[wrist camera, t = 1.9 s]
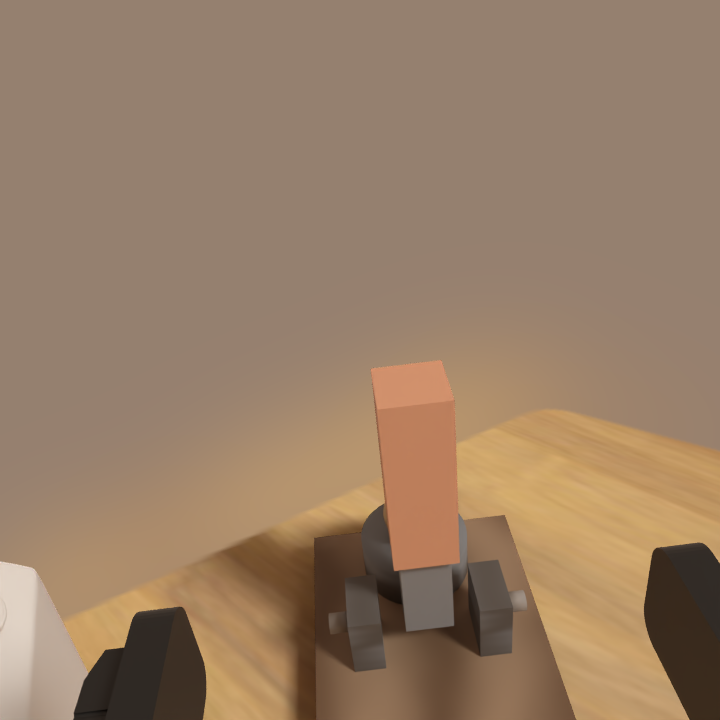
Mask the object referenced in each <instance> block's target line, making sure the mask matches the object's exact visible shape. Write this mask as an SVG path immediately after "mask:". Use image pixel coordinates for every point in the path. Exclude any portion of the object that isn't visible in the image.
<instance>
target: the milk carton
mask: <svg viewBox="0 0 720 720" xmlns="http://www.w3.org/2000/svg"><path fill="white" fill-rule="evenodd" d="M87 675H88V672H87V670H86V668H85V666H84V664H83V662H82V660H81V658H80V656H79V654H78V652H77V650H76V648H75V646H74V644H73V642H72V640H71V638H70V636H69V634H68V632H67V630H66V628H65V626H64V624H63V622H62V620H61V618H60V616H59V614H58V612H57V610H56V608H55V606H54V604H53V602H52V600H51V598H50V596H49V594H48V592H47V590H46V588H45V586H44V585H43V583H42V581H41V579H40V577H39V576H38V574H37V573H36V571H35V570H34V569H33V568H30V567H26V566H21V565H16V564H10V563H6V562H0V720H73V719H74V714H73V713H74V710H75V707H76V704H77V701H78V698H79V694H80V691H81V688H82V685H83V682H84V679H85V678H86V677H87Z"/></svg>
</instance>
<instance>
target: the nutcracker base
mask: <svg viewBox="0 0 720 720" xmlns="http://www.w3.org/2000/svg"><path fill="white" fill-rule="evenodd" d="M458 522H459V553H460V563H457V564H452V585H453V609H454V626H449V627H441V628H432V629H424V630H416V631H407V632H406V626H405V619H404V612H403V605H402V598H401V588H400V579H399V571H394V567H393V560H392V553H391V546H390V538H389V531H388V524H387V515H386V506H385V504H383V505H381V506H380V507H378V508H377V509H376V510H374V511H373V512H372V513H371V514H370V515H369V517H368V518H367V519H366V521H365V523H364V525H363V528H362V532H360V533H352V534H344V535H335V536H327V537H319V538H314V550H315V649H316V720H576V718H575V715H574V713H573V710H572V707H571V704H570V701H569V698H568V695H567V692H566V690H565V687H564V684H563V681H562V678H561V675H560V672H559V670H558V667H557V664H556V661H555V658H554V655H553V652H552V649H551V647H550V644H549V641H548V638H547V635H546V632H545V629H544V626H543V624H542V621H541V618H540V615H539V612H538V609H537V606H536V604H535V601H534V598H533V595H532V592H531V589H530V586H529V583H528V581H527V578H526V575H525V572H524V569H523V566H522V563H521V561H520V558H519V555H518V552H517V549H516V546H515V543H514V540H513V538H512V535H511V532H510V529H509V526H508V523H507V520H506V517H505V515H501V516H493V517H485V518H476V519H468V520H463V519H462V517H461V516H460V515H459V513H458Z"/></svg>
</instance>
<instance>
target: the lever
mask: <svg viewBox="0 0 720 720" xmlns="http://www.w3.org/2000/svg"><path fill="white" fill-rule="evenodd" d="M371 376H372V385H373V394H374V403H375V413H376V422H377V430H378V440H379V450H380V459H381V468H382V478H383V487H384V496H385V506H386V515H387V524H388V531H389V538H390V546H391V553H392V560H393V567H394V571H399V579H400V588H401V598H402V605H403V612H404V619H405V626H406V632H407V631H416V630H424V629H432V628H441V627H449V626H454V609H453V585H452V564H457V563H460V553H459V522H458V492H457V461H456V433H455V432H456V431H455V401H454V397H453V394H452V391H451V388H450V385H449V382H448V379H447V376H446V373H445V370H444V367H443V363H442V361H441V360H438V361H431V362H421V363H413V364H405V365H397V366H388V367H380V368H372V369H371Z"/></svg>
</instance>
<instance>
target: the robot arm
mask: <svg viewBox="0 0 720 720" xmlns="http://www.w3.org/2000/svg"><path fill="white" fill-rule="evenodd" d="M644 617H645V623H646V628H647V631H648V635H649V638H650V640H651V643H652V645H653V647H654V649H655V651H656V653H657V655H658V657H659V659H660V661H661V663H662V665H663V667H664V669H665V671H666V673H667V675H668V677H669V679H670V681H671V683H672V685H673V687H674V689H675V691H676V693H677V695H678V697H679V699H680V701H681V703H682V705H683V707H684V709H685V711H686V713H687V715H688V717H689V719H690V720H720V563H719V562H718V560H717V559H716V557H715V556H714V554H713V553H712V552H711V550H710V549H709V548H708V547H707V546H706V545H705V544H703V543H692V544H684V545H676V546H668V547H660V548H656V549H655V550H654V551H653V553H652V558H651V565H650V571H649V578H648V584H647V591H646V597H645V603H644ZM205 700H206V673H205V666H204V661H203V658H202V656H201V653H200V650H199V647H198V645H197V642H196V639H195V636H194V634H193V631H192V628H191V625H190V623H189V620H188V617H187V614H186V612H185V610H184V608H182V607H174V608H166V609H158V610H150V611H142V612H137V613H136V614H135V616H134V617H133V619H132V622H131V626H130V629H129V633H128V637H127V640H126V644H125V648H118V649H110V650H105V651H104V653H103V654H102V656H101V657H100V658H99V660H98V661H97V663H96V664H95V665H94V667H93V668H92V670H91V671H90V672H89V674H88V675H87V677H86V678H85V679H84V682H83V685H82V688H81V691H80V694H79V698H78V701H77V704H76V707H75V710H74V713H73V714H74V719H73V720H203V714H204V707H205Z"/></svg>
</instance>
